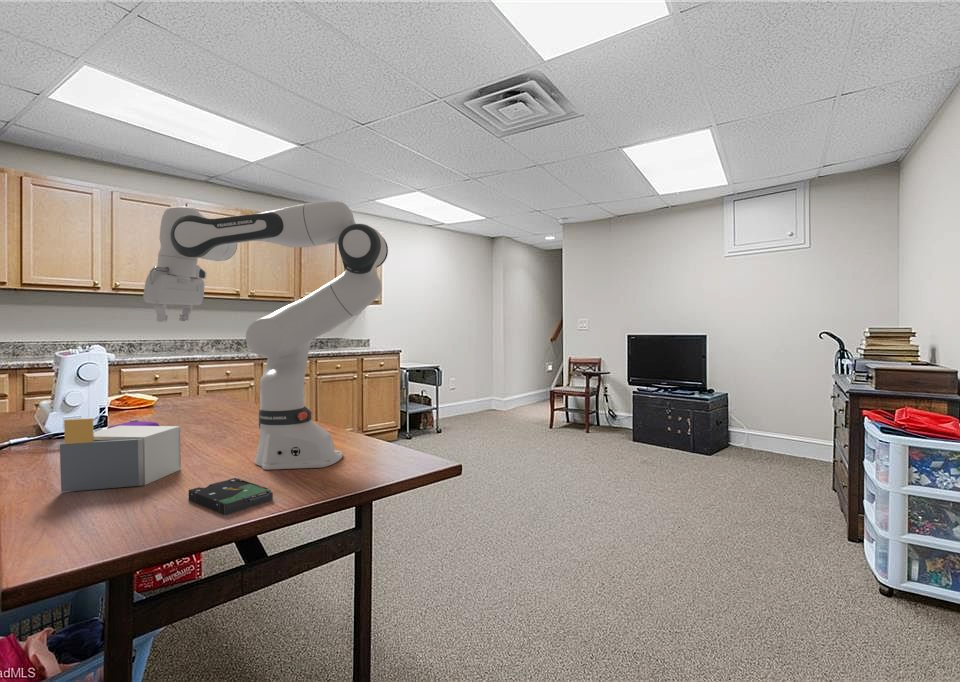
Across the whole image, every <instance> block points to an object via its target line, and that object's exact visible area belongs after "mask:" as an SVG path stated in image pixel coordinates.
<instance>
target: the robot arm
mask: <svg viewBox="0 0 960 682" xmlns="http://www.w3.org/2000/svg"><path fill="white" fill-rule="evenodd" d="M161 217H162V218H161V221H160V228H159V238H158V239H159V242H160V249H159V251H158V253H157V254H158V255H157V265H155V266H153V267H152V268H151V269H150V270H149V273H148V274H147V277H146V279H145V282H144V288H143V289H144V290H143V301H144V302H145V303H147V304H154V306H153V308H154V311H155V313H156V321H157V322H159V323H165V322H168V317H169V316H168V314H166V309H167V305H181V308H182V312H181V313H180V314H179V320H178V321H180V322H189V320H190V315H191V313H192V311H193V307H194V306H201V304H202V303H203V301H204V294H205V286H206V285H205V281H204V280H206V279H207V272H206V271H205V270H204V269H203V268H202V267H200V265H199V264H198V259H203V260H209V261H214V262H223V261H227V260H229V259H231V258H232V257H234V255H235V253H236V252H237V248H238V244H241V243H247V242H265V243H271V244H276V245H279V246H284V247H288V248H311V247H317V246H322V245H328V244H330V245H331V244H334V245H338V246H337V248H338V251H339V254H340V258H341V261H342V265H343V268H344V269H345V270H344V271H343V272H342V273H341V274H340V275H338V276H336V277H335V278H334V279H332V280H330V281H329V282H327V283H325V284H324V285H322V286H320V287H319V288H317V289H316V290H314V291H313V292H311V293H309V294H308V295H306V296H304V297H302V298H300V299H297V300H296V301H293V302H291V303H289V304H287V305H285V306H283V307H281V308H279V309H276V310H275V311H273V312H270V313H269V314H267V315H265V316H262V317H260V318H258V319H256V320H254V321H252V323H250V325H249V326H248V327H247V329H246V332H245V343H246V345H247V347H248V348H249V349H250V351H252V353H254V354H255V355H258V356H260V357H263V358H266V359H267V360H266V365H265V368H264V371H263V373H262V375H261V378H260V380H259V383H260V384H259V385H260V387H259V389H260V391H259V392H260V393H259V394H260V397H259V398H260V408H259V409H258V428H259V437H258V438H259V440H258V446H257V452H256V456H255V459H254V464H255V465H257V466H259V467H261V468H262V470H285V469H286V470H287V469H288V470H289V469H293V470H294V469H313V468H314V469H315V468H326V467H328V466H332V465H334V464H336V463H337V462H339V461H340V460H341V459H342V458H343V451H341V450H339V449H338V450H337V449H335V443H334V439H333V436H332V434H331V433H330V432H329V431H327V430H325V428H323V427H321V426H320V425H318V423H316V422H314V421H313V420H312V414H314V409H309V408H308V407H307V406H305V380H306V379H305V378H306V369H307V364H308V359H309V353H310V352H309V351H310V347H311V344H312V342H313V340H315V339H317V338H318V337H321V336H322V335H324V334H326V333H329V332H331V331H332V330H334V329H336V328H337V327H339V326H340V325H342V324H343V323H345V322H347V321H349V320H350V319H351V318H353V317H355V316H356V315H358V314H359V313H361V312H362V311H364V310H365V309H366V308H367V307H369V306H370V305H371V304H372V303H374V301H376V300H377V298H379V296H380V295H381V293H382V289H383V288H382V282H381V279H380V278H379V276H378V274H377V268H378V267H379V268H380V267H381V266H382V265H383V264H384V263H385V262H386V260H387V258H388V255H389V249H388V248H389V247H388V244H387V243H388V242H387V241H386V239H385V238H384V237H383V235H382V234H381V233H380V231H378V230H376V229H375V228H374V227H371V226H370V225H367V224H365V223H356V221H355V217H354V214H353V212H352V210H351V209H350V207H349V206H348V205H347V204H346V203H345V202H343V201H333V200H332V201H331V200H330V201H327V200H326V201H315V202H308V203H307V202H306V203H300V204H296V205H291V206H287V207H282V208H279V209H273V210H269V211H264V212H259V213H251V214H243V215H235V216H228V217H218V218H208V217H206V216H204V215H203V214H202V213H201V212H200V211H199V210H197V209H196V208H194V207H189V206H183V205H182V206H181V205H180V206H179V205H178V206H170V207H167V208H166V209H165V210H164V212H163V214H162V216H161Z"/></svg>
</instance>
